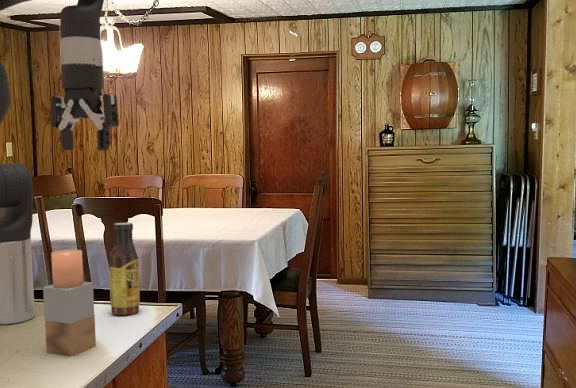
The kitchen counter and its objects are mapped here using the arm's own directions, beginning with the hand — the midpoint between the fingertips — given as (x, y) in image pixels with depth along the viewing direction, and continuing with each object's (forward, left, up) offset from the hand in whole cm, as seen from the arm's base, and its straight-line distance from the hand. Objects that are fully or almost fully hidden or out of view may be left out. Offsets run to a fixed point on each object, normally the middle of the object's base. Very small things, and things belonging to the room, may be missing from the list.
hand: (85, 150), depth 115 cm
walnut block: (+2, -8, -36) cm, 37 cm away
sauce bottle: (-4, +15, -36) cm, 39 cm away
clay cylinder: (+2, -8, -24) cm, 25 cm away
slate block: (+2, -8, -30) cm, 31 cm away
